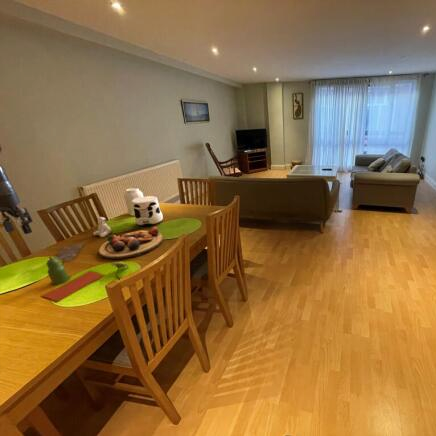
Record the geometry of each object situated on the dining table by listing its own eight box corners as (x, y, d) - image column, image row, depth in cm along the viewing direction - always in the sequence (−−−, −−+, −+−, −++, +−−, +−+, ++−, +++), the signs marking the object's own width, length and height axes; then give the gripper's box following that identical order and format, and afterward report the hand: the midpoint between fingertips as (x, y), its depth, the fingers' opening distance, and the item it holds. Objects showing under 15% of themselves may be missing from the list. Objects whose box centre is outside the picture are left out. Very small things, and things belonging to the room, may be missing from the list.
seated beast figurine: (92, 235, 155) (86, 218, 150) (106, 230, 162) (101, 213, 157) (102, 238, 151) (95, 220, 147) (115, 232, 158) (110, 215, 154)
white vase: (151, 211, 195) (145, 187, 188) (138, 216, 184) (131, 191, 176) (138, 209, 198) (132, 186, 191) (125, 215, 187) (118, 190, 180)
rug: (49, 264, 124) (48, 262, 123) (63, 247, 140) (62, 246, 140) (73, 259, 128) (72, 258, 127) (84, 244, 144) (83, 242, 144)
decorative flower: (124, 267, 108) (111, 256, 117) (115, 280, 107) (103, 268, 115) (140, 272, 114) (127, 261, 123) (132, 284, 113) (119, 273, 121)
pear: (57, 285, 108) (46, 261, 103) (49, 283, 110) (38, 259, 105) (71, 278, 113) (61, 254, 108) (64, 276, 115) (53, 252, 110)
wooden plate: (159, 229, 163) (157, 218, 159) (166, 249, 138) (163, 236, 135) (101, 242, 146) (97, 229, 143) (97, 266, 122) (92, 252, 119)
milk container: (156, 216, 184) (150, 194, 178) (168, 221, 175) (163, 198, 168) (132, 224, 171) (125, 200, 164) (143, 230, 162) (137, 204, 155)
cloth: (57, 301, 98) (56, 301, 98) (42, 296, 101) (41, 295, 101) (104, 275, 115) (103, 275, 115) (90, 271, 118) (89, 271, 118)
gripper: (-29, 195, 86) (-7, 235, 92) (2, 196, 84) (23, 238, 90) (-2, 189, 93) (16, 227, 99) (28, 191, 91) (45, 229, 97)
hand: (19, 232), depth 95 cm, fingers open, 8 cm apart
